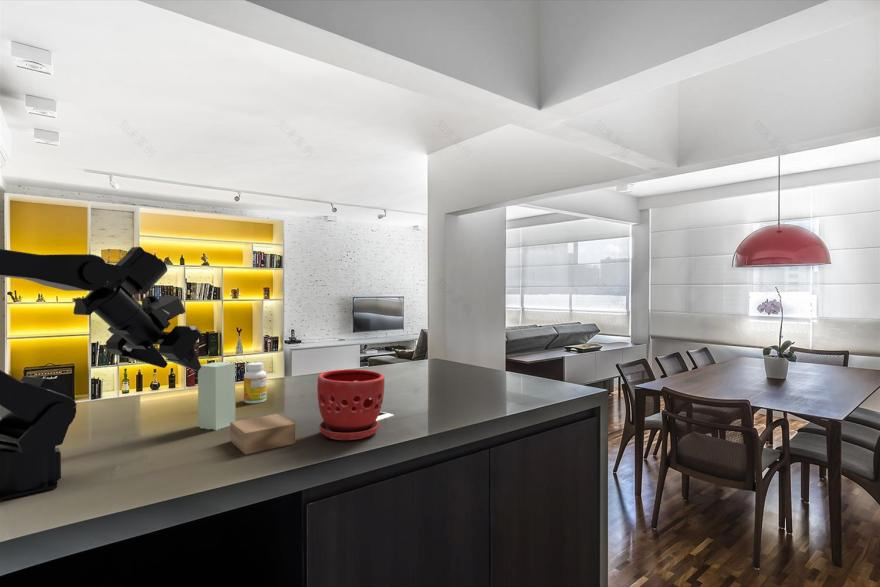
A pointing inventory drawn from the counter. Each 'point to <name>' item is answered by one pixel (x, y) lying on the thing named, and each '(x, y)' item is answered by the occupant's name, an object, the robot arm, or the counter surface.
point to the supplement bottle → (255, 383)
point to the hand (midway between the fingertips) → (182, 367)
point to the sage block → (216, 395)
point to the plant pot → (350, 403)
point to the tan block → (262, 433)
